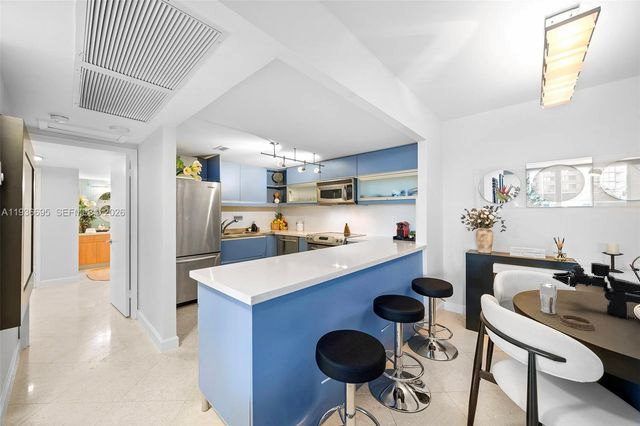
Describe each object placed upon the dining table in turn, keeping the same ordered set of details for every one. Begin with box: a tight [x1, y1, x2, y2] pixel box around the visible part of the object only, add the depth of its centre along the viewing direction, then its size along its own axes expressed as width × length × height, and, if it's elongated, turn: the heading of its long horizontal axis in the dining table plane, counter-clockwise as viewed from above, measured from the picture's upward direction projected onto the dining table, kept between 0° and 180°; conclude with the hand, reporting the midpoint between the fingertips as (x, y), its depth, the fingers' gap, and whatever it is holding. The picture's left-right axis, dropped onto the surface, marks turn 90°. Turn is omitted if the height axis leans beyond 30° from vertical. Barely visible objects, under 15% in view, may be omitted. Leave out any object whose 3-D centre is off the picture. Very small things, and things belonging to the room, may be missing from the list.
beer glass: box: [539, 283, 558, 315], centre depth 136 cm, size 7×7×15 cm
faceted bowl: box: [558, 314, 595, 332], centre depth 122 cm, size 12×12×2 cm
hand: (552, 275), depth 150 cm, fingers open, 9 cm apart
